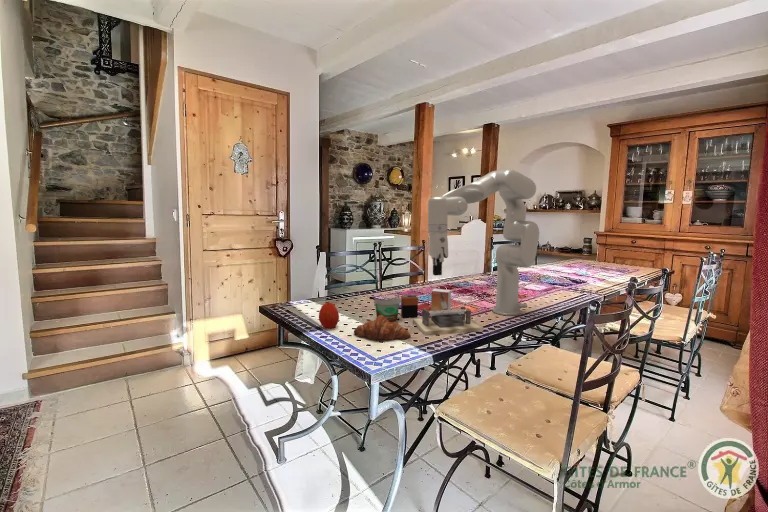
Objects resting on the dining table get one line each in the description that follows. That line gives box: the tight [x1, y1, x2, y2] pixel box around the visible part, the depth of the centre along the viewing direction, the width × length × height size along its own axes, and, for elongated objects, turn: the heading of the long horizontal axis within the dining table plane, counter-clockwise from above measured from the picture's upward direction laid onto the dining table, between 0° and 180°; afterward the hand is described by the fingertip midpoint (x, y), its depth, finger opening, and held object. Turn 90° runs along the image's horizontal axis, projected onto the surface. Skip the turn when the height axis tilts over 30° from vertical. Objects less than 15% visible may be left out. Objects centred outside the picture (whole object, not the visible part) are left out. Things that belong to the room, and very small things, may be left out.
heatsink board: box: [412, 306, 485, 336], centre depth 150 cm, size 24×16×8 cm, turn 102°
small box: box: [430, 288, 452, 311], centre depth 170 cm, size 8×6×10 cm
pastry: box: [353, 315, 411, 342], centre depth 139 cm, size 17×15×8 cm
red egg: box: [318, 301, 340, 330], centre depth 148 cm, size 8×8×11 cm
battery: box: [400, 293, 419, 319], centre depth 164 cm, size 4×7×10 cm, turn 98°
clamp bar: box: [428, 308, 467, 317], centre depth 149 cm, size 17×4×1 cm, turn 102°
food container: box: [373, 295, 401, 322], centre depth 157 cm, size 12×6×10 cm, turn 117°
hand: (437, 274), depth 147 cm, fingers closed
